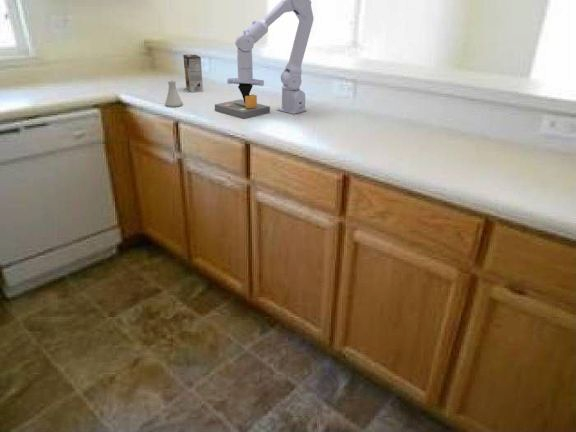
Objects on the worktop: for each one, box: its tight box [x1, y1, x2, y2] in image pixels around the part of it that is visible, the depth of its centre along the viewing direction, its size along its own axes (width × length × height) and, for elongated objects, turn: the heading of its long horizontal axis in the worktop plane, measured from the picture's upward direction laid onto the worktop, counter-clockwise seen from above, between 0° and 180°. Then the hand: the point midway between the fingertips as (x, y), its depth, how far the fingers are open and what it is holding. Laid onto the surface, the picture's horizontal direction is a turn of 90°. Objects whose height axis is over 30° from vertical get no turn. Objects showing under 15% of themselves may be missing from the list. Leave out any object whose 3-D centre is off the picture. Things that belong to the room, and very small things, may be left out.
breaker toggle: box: [245, 93, 258, 108], centre depth 177 cm, size 2×4×4 cm, turn 137°
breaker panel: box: [214, 98, 271, 120], centre depth 182 cm, size 18×14×3 cm
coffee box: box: [183, 54, 204, 93], centre depth 215 cm, size 9×6×16 cm
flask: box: [164, 80, 184, 108], centre depth 188 cm, size 7×7×10 cm
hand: (246, 103), depth 179 cm, fingers closed
